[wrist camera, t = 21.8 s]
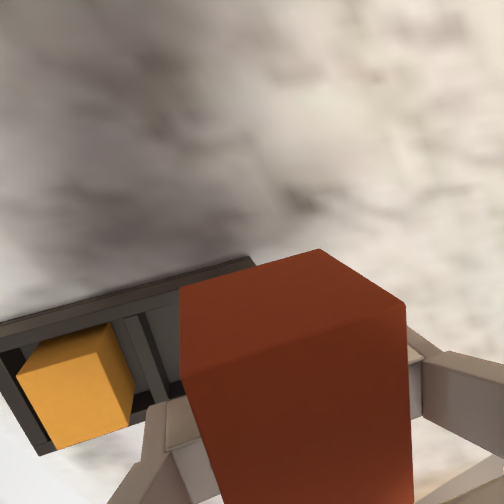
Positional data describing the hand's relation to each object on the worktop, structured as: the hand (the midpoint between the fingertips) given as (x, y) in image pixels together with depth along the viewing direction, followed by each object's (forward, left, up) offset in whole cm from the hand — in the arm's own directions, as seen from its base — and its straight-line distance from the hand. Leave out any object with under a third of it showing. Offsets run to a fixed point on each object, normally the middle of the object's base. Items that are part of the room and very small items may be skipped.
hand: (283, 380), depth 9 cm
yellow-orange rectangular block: (+6, -11, -15) cm, 19 cm away
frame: (+6, -7, -15) cm, 18 cm away
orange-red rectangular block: (0, 0, -2) cm, 2 cm away
